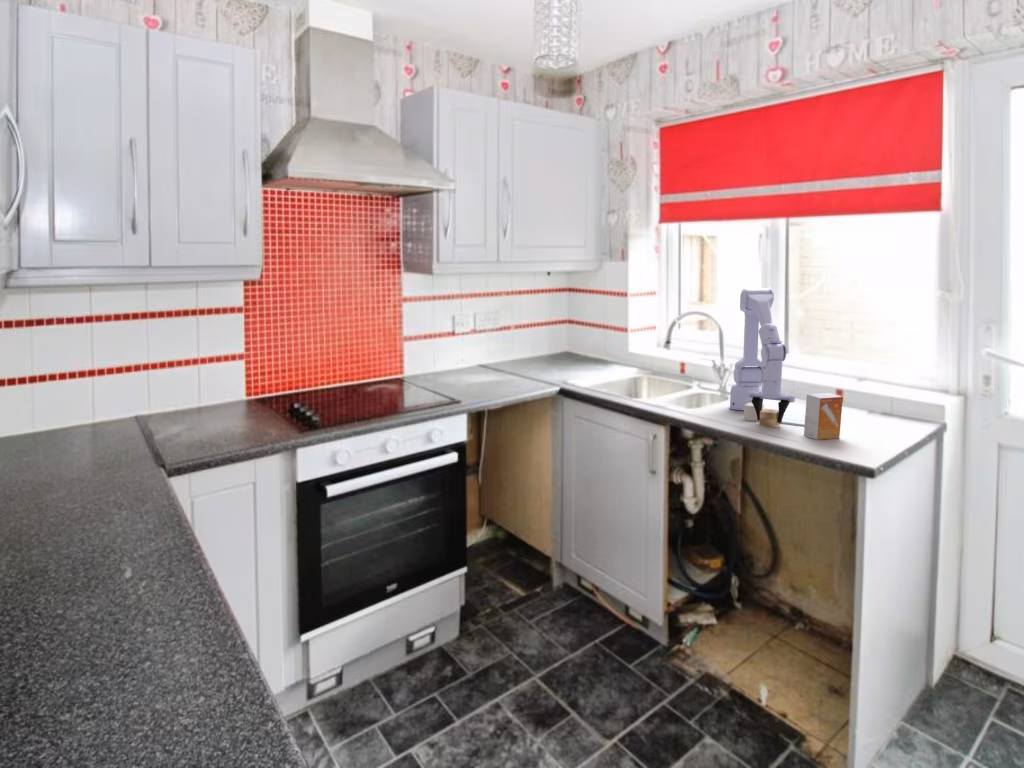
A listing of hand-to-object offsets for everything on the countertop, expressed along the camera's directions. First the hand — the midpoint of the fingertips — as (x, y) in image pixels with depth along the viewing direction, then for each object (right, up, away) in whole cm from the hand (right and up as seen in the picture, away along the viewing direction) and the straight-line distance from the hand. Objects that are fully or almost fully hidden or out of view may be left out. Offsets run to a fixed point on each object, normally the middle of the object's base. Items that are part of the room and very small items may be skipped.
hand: (769, 421), depth 214 cm
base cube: (0, -2, 0) cm, 2 cm away
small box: (+10, -4, -14) cm, 18 cm away
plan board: (+12, 0, +6) cm, 13 cm away
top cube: (-2, 0, +9) cm, 10 cm away
